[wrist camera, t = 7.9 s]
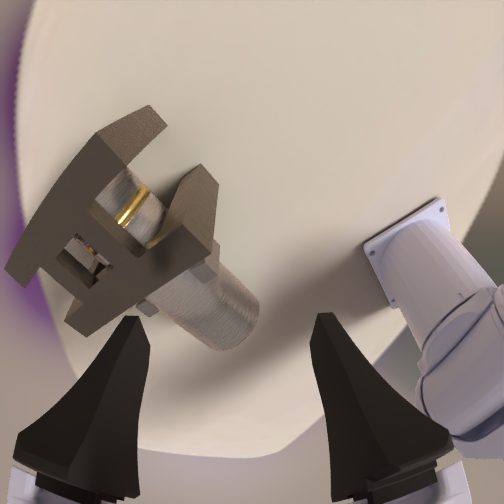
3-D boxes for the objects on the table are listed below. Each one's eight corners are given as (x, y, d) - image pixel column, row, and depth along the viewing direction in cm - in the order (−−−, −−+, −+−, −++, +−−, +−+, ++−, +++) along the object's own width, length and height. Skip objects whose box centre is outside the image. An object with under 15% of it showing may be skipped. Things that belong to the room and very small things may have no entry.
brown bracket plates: (218, 184, 18) (211, 253, 12) (116, 264, 21) (86, 337, 15) (149, 104, 15) (95, 132, 9) (56, 206, 18) (4, 268, 12)
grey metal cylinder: (261, 278, 23) (268, 333, 18) (202, 311, 24) (198, 364, 20) (121, 127, 15) (81, 154, 11) (67, 188, 17) (28, 229, 13)
